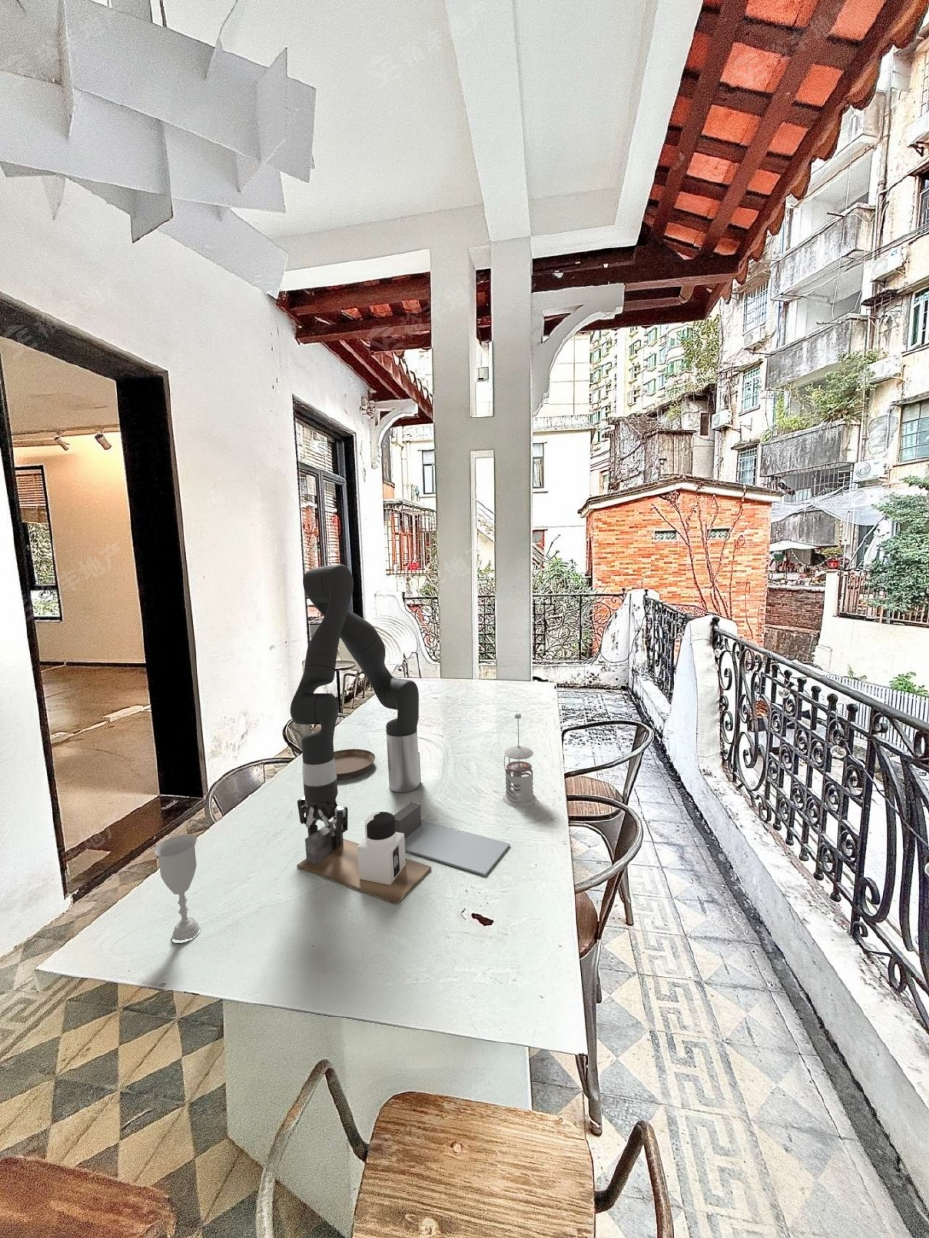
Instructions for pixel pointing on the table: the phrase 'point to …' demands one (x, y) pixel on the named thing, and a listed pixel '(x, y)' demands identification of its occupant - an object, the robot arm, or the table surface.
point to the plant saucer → (352, 762)
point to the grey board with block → (447, 842)
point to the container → (381, 850)
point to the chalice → (179, 877)
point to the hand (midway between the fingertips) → (324, 844)
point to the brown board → (355, 867)
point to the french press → (519, 776)
